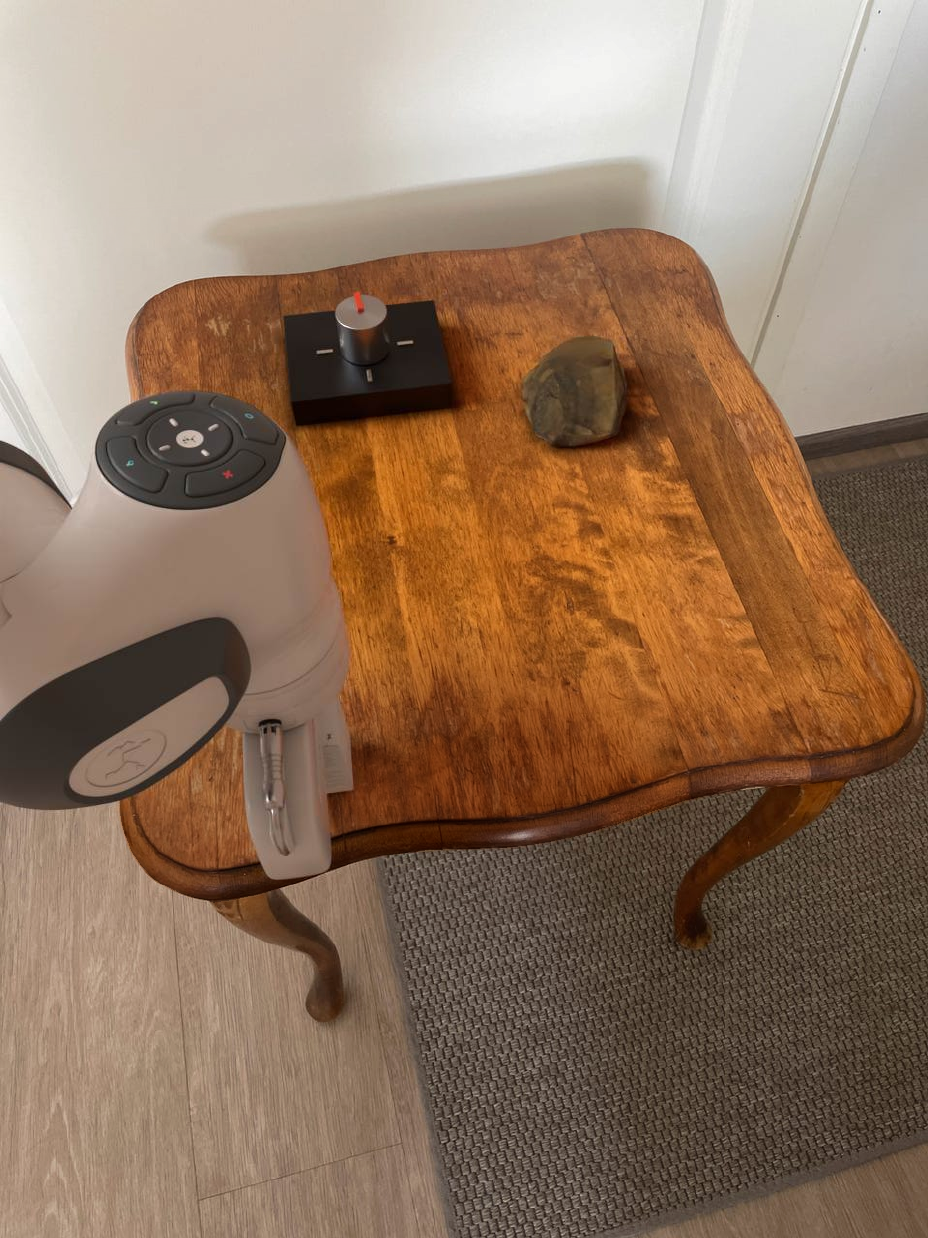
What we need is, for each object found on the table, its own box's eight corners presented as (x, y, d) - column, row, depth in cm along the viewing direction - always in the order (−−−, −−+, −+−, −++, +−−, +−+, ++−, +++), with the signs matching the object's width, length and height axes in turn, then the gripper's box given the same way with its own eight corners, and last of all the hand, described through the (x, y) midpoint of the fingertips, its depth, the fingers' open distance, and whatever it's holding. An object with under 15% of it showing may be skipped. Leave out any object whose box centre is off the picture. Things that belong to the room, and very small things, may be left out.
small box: (350, 736, 64) (338, 684, 57) (354, 792, 62) (342, 745, 55) (264, 746, 63) (241, 695, 57) (265, 803, 61) (241, 757, 54)
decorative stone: (638, 446, 79) (646, 417, 76) (532, 454, 78) (535, 425, 75) (615, 361, 84) (621, 331, 81) (515, 368, 84) (517, 338, 81)
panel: (295, 426, 80) (290, 400, 77) (288, 340, 86) (282, 313, 83) (452, 407, 81) (452, 381, 78) (434, 325, 87) (433, 298, 84)
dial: (393, 361, 80) (390, 322, 76) (344, 368, 79) (339, 329, 76) (385, 327, 82) (381, 288, 78) (337, 334, 82) (331, 295, 78)
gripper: (341, 824, 43) (366, 900, 55) (311, 492, 53) (337, 616, 65) (206, 845, 42) (261, 917, 54) (203, 505, 53) (249, 627, 65)
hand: (303, 750), depth 60 cm, fingers closed on small box, 4 cm apart
